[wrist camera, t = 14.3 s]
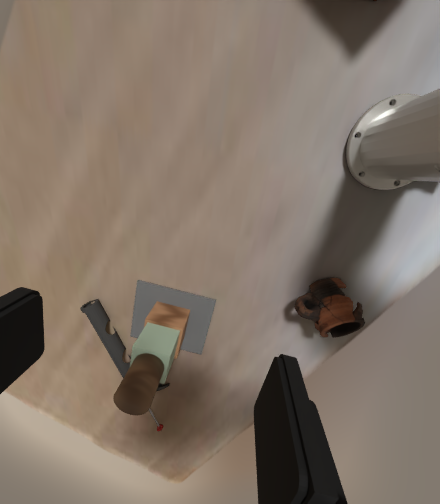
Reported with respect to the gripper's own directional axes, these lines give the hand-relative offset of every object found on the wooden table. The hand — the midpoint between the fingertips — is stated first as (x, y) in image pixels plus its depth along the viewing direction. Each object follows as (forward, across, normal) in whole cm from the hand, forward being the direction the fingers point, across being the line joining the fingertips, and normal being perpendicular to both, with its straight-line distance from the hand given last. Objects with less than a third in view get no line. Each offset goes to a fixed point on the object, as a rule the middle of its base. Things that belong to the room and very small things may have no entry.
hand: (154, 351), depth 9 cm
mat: (+32, +5, +24) cm, 41 cm away
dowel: (+20, +5, +24) cm, 32 cm away
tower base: (+32, +5, +24) cm, 40 cm away
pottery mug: (+33, -22, +11) cm, 41 cm away
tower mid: (+26, +5, +24) cm, 36 cm away
